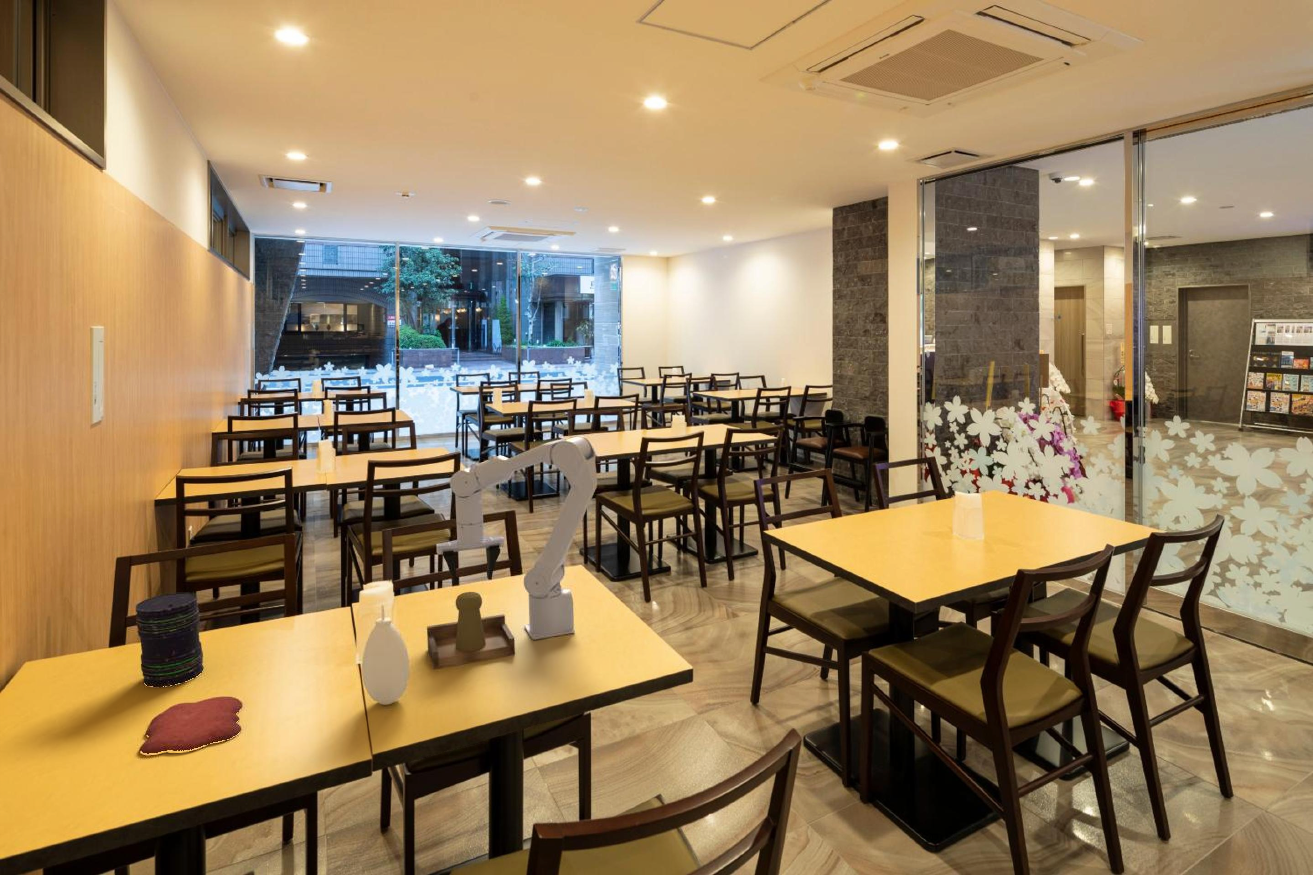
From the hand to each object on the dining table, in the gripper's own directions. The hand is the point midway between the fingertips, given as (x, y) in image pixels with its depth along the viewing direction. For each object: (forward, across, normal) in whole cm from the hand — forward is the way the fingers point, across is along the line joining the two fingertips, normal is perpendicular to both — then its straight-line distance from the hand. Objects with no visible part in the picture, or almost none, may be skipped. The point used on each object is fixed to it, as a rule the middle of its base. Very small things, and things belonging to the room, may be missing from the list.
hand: (472, 580), depth 159 cm
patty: (+11, +50, +24) cm, 57 cm away
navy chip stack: (+11, +57, +1) cm, 58 cm away
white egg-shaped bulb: (+11, +20, +29) cm, 37 cm away
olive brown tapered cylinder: (+9, +3, +16) cm, 18 cm away
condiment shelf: (+10, +3, +14) cm, 18 cm away
